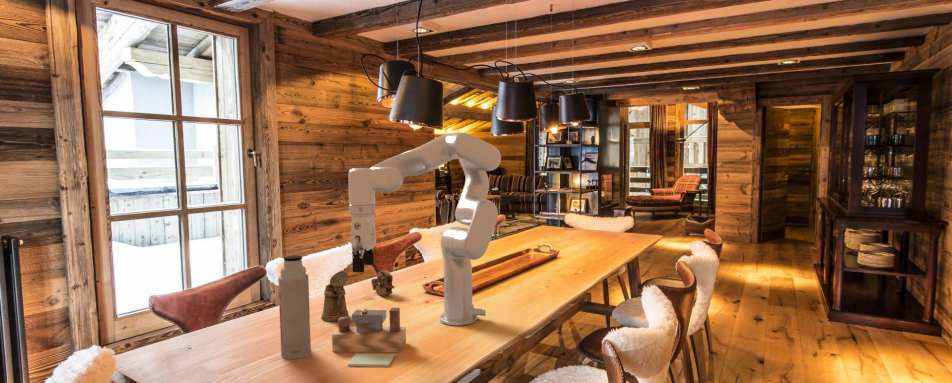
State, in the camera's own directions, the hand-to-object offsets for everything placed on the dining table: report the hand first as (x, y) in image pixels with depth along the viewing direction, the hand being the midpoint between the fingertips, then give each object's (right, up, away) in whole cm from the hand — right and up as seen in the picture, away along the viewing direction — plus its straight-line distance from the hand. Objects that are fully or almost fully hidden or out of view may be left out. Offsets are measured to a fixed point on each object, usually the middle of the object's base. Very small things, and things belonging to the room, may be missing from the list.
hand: (363, 268), depth 149 cm
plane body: (+2, -23, 0) cm, 23 cm away
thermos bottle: (-18, -24, -4) cm, 30 cm away
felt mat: (+4, -24, -10) cm, 26 cm away
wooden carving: (-5, -19, +55) cm, 58 cm away
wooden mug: (-15, -22, +25) cm, 37 cm away
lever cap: (+2, -15, -1) cm, 15 cm away
